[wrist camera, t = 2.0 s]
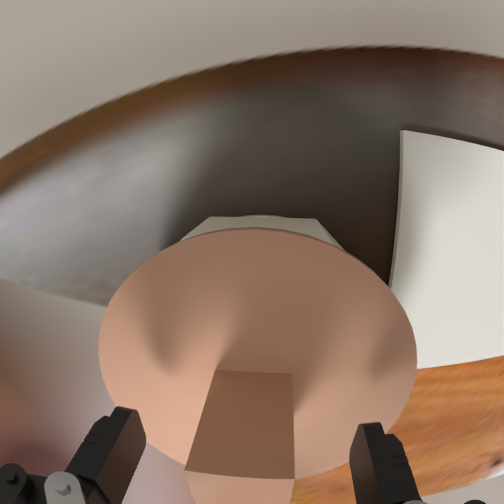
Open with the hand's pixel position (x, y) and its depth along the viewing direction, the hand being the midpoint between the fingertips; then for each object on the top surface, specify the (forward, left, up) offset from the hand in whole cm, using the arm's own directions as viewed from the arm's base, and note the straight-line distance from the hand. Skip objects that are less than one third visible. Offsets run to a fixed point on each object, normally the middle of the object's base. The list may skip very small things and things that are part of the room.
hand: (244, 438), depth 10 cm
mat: (-15, -4, -9) cm, 18 cm away
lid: (0, 0, -3) cm, 3 cm away
